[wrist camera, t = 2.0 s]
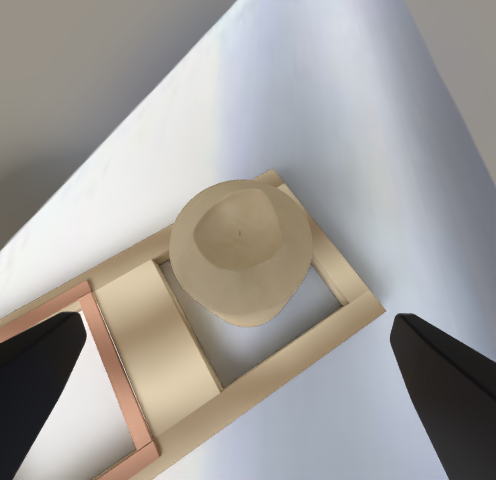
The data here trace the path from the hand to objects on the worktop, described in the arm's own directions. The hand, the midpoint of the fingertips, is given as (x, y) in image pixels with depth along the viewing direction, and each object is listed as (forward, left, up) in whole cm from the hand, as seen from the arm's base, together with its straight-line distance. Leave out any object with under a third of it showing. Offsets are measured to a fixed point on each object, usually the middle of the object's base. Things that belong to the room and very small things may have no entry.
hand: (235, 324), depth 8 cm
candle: (+3, -2, -10) cm, 11 cm away
